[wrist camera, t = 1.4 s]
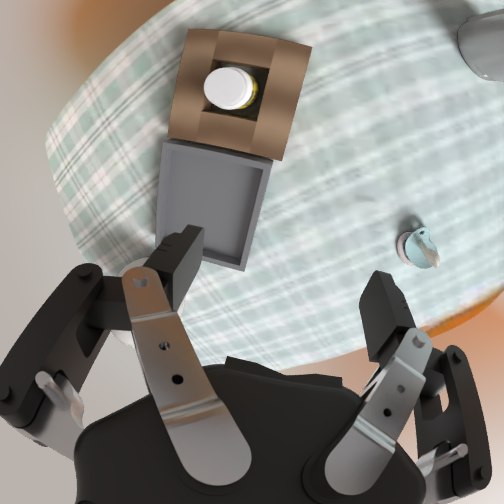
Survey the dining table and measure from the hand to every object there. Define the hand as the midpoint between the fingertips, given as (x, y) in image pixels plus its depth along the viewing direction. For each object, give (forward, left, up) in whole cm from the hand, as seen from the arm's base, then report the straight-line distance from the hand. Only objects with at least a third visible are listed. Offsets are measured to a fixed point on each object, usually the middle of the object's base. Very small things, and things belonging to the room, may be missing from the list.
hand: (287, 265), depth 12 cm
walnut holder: (-7, -8, -24) cm, 26 cm away
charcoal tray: (+9, -9, -24) cm, 27 cm away
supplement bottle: (-7, -8, -24) cm, 26 cm away
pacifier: (+6, +21, -24) cm, 33 cm away
